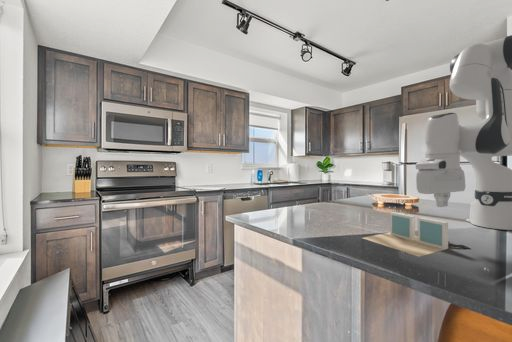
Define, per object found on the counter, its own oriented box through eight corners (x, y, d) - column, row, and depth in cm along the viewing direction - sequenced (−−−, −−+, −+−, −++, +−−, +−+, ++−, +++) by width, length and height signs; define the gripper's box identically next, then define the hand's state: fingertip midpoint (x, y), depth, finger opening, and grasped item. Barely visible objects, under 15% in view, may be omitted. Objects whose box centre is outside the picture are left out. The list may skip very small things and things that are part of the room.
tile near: (421, 241, 82) (420, 217, 82) (448, 248, 74) (448, 222, 74) (417, 242, 81) (417, 217, 81) (444, 249, 74) (444, 222, 74)
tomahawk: (471, 251, 73) (472, 247, 73) (445, 247, 75) (446, 244, 75) (438, 232, 94) (438, 229, 94) (418, 229, 95) (419, 226, 95)
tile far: (393, 233, 91) (393, 212, 91) (415, 239, 84) (414, 216, 83) (390, 234, 90) (389, 212, 90) (411, 240, 83) (411, 216, 83)
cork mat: (396, 231, 94) (396, 230, 94) (456, 247, 76) (456, 246, 76) (361, 239, 87) (361, 237, 87) (419, 258, 69) (419, 256, 69)
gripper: (449, 163, 86) (449, 203, 87) (412, 164, 78) (412, 207, 78) (471, 163, 81) (471, 205, 81) (433, 163, 72) (433, 210, 72)
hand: (442, 206), depth 79 cm, fingers closed
